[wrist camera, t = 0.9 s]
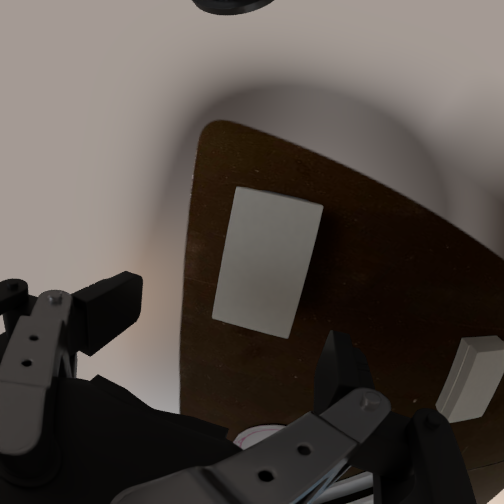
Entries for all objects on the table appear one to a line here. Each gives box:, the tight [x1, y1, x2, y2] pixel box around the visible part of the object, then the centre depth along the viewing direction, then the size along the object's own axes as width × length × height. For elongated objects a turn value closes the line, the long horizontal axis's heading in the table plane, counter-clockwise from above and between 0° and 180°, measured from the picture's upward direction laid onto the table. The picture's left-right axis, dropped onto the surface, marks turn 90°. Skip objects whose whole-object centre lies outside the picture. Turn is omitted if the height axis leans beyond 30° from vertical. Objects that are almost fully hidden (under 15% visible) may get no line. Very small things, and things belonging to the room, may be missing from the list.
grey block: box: [436, 336, 504, 423], centre depth 23 cm, size 10×6×4 cm, turn 178°
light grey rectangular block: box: [212, 187, 323, 339], centre depth 21 cm, size 10×6×3 cm, turn 168°
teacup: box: [234, 425, 286, 450], centre depth 29 cm, size 12×12×6 cm
